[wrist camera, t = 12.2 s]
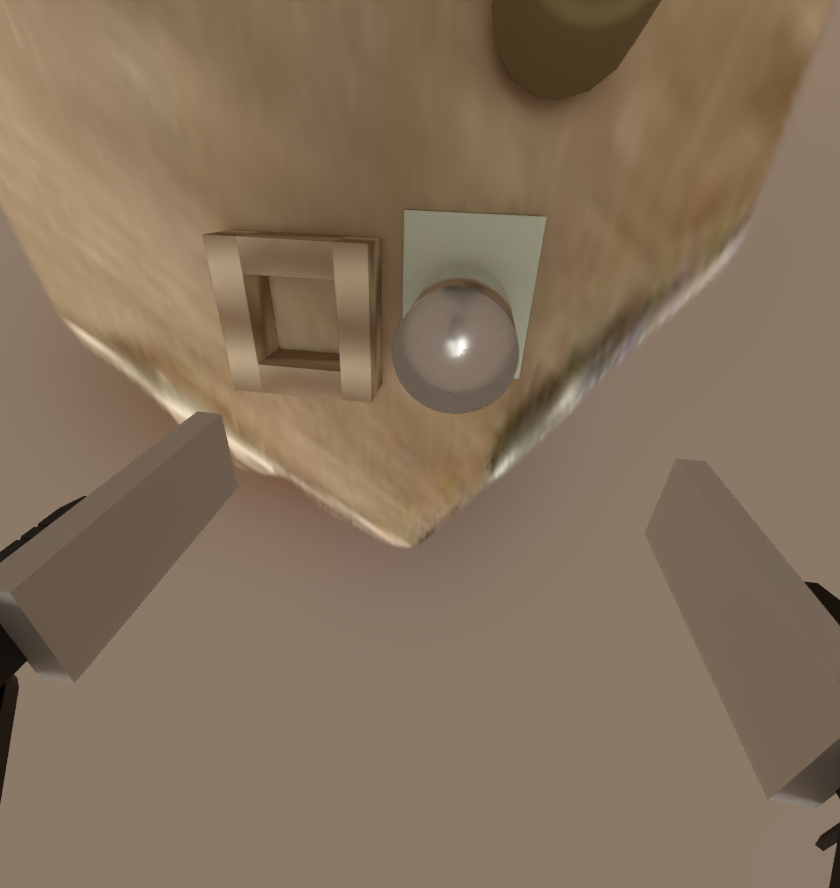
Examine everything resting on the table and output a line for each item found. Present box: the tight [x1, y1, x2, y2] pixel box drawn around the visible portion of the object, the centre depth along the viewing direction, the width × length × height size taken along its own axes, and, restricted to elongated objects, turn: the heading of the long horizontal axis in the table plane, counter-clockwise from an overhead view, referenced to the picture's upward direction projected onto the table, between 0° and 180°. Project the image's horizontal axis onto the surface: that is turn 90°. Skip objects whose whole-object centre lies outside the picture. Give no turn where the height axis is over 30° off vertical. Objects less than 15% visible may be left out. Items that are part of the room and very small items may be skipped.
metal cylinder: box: [392, 266, 519, 414], centre depth 27 cm, size 6×6×13 cm
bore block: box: [202, 230, 382, 403], centre depth 34 cm, size 12×12×4 cm
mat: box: [403, 210, 547, 379], centre depth 33 cm, size 12×10×1 cm
